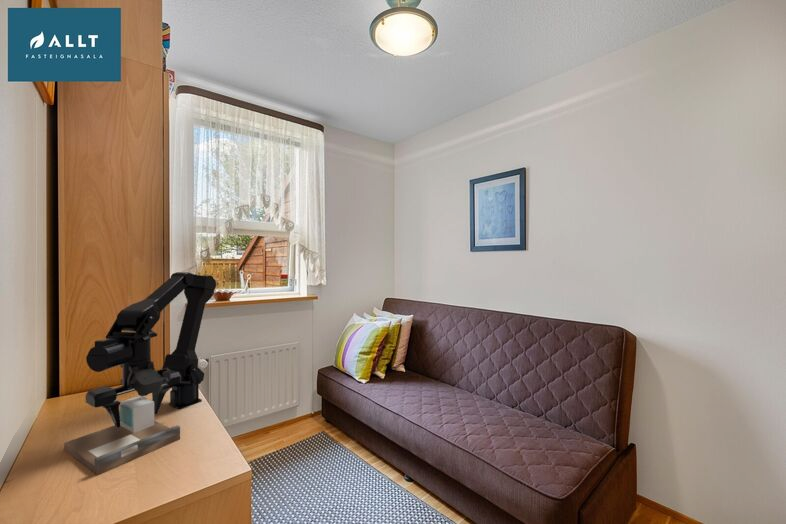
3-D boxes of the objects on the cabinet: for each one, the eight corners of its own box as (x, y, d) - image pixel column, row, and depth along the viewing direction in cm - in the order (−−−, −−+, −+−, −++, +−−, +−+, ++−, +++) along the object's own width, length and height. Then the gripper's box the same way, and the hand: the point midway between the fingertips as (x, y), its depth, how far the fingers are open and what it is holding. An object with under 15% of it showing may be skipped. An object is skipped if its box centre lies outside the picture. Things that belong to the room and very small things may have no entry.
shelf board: (143, 420, 92) (143, 409, 92) (180, 439, 83) (180, 426, 83) (64, 449, 79) (63, 435, 78) (97, 475, 69) (97, 460, 69)
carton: (140, 418, 90) (140, 395, 90) (154, 425, 87) (154, 401, 87) (119, 426, 86) (118, 402, 86) (132, 433, 83) (132, 408, 83)
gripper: (104, 375, 74) (105, 447, 75) (192, 354, 90) (192, 413, 91) (84, 366, 80) (85, 433, 80) (170, 348, 96) (170, 403, 96)
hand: (137, 420), depth 87 cm, fingers open, 8 cm apart
